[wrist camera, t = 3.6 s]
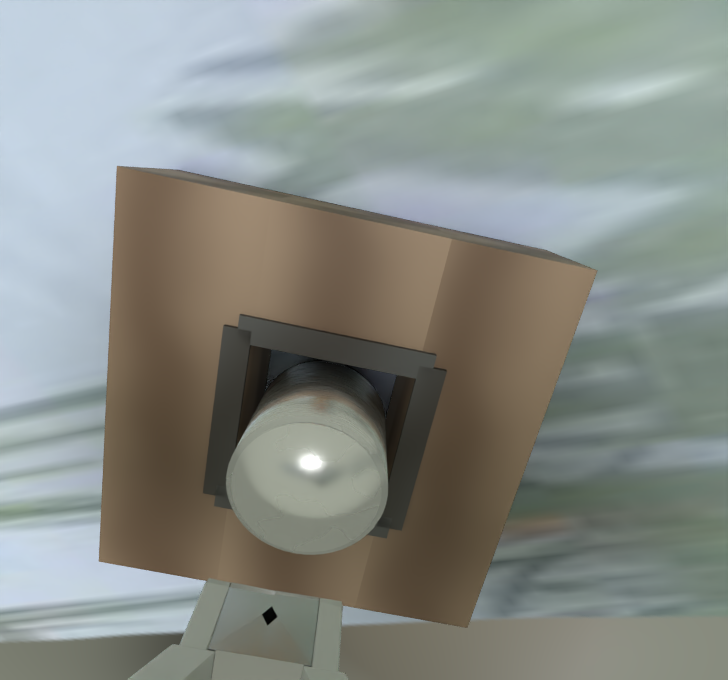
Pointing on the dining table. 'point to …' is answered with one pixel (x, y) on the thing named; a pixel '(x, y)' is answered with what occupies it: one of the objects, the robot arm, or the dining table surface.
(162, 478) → the socket block
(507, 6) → the dining table surface
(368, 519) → the peg
